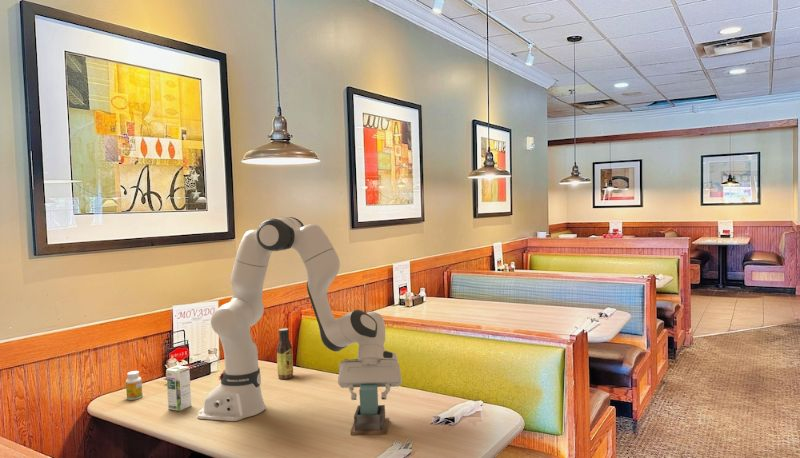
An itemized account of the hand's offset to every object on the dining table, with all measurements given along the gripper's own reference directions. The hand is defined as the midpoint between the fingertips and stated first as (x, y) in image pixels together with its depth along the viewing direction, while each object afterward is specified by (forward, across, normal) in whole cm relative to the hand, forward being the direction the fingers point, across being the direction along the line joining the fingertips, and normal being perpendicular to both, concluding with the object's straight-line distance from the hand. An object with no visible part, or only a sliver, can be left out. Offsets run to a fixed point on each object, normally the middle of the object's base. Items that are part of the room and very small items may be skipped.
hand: (368, 399), depth 170 cm
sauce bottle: (-30, -41, +43) cm, 67 cm away
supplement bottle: (-16, -94, +29) cm, 100 cm away
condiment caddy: (+6, 0, +7) cm, 9 cm away
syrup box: (-8, -71, +21) cm, 75 cm away
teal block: (+6, 0, +6) cm, 8 cm away
